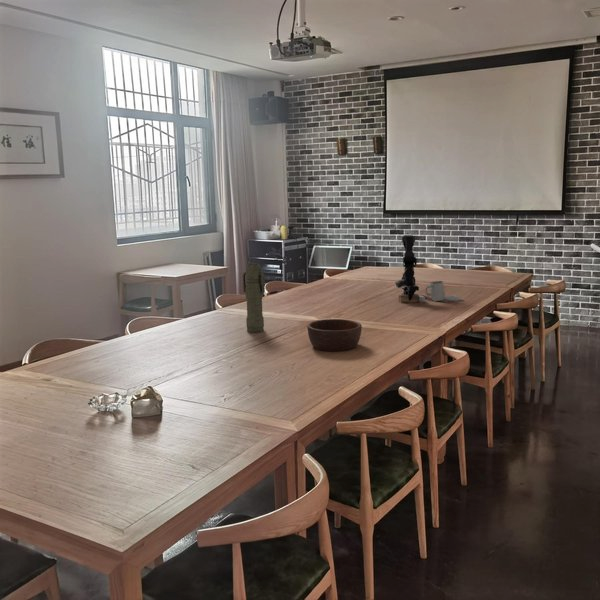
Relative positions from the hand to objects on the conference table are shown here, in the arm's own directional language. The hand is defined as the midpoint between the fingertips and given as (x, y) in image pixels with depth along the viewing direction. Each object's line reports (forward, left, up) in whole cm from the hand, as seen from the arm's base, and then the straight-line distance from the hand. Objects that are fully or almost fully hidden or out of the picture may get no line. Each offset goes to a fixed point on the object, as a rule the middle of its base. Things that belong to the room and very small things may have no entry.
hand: (408, 299), depth 388 cm
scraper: (0, +1, -1) cm, 2 cm away
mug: (0, +18, -1) cm, 18 cm away
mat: (0, +27, -1) cm, 27 cm away
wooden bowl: (+92, -71, -2) cm, 116 cm away
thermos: (+52, -103, -1) cm, 115 cm away
